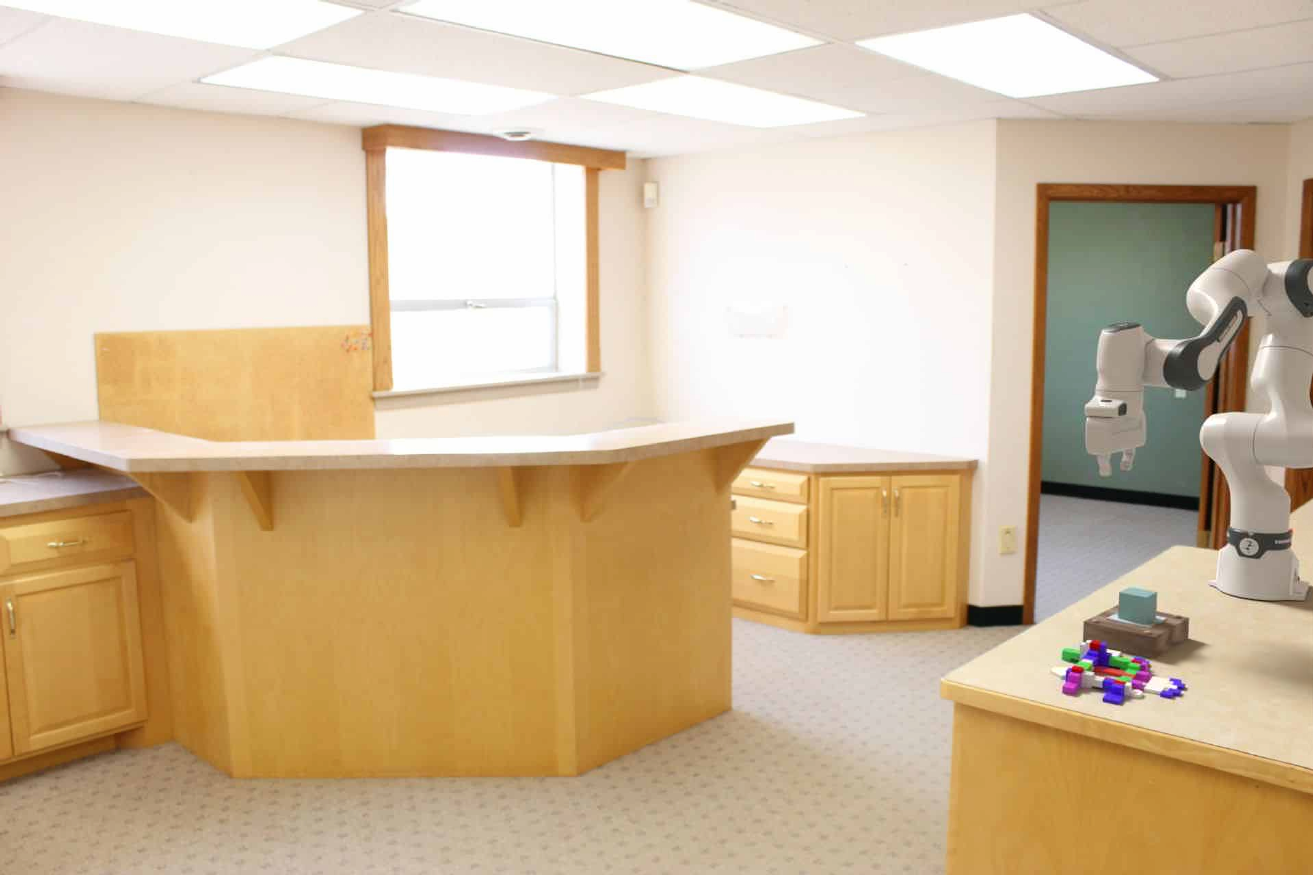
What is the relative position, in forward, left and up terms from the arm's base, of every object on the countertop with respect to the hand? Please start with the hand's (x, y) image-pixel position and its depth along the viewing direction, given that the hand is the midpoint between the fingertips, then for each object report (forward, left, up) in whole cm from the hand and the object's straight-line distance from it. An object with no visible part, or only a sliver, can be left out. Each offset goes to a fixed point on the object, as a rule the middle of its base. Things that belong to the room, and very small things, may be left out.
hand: (1115, 472), depth 212 cm
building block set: (+36, +17, -30) cm, 50 cm away
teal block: (+14, +11, -25) cm, 30 cm away
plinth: (+14, +11, -29) cm, 34 cm away
